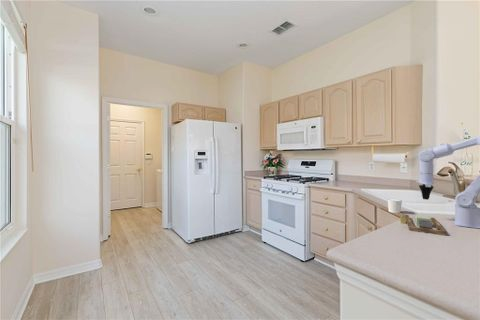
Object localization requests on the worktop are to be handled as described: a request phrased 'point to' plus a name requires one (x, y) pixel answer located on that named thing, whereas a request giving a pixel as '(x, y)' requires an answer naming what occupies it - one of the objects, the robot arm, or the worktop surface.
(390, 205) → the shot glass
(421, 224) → the block
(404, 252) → the worktop surface
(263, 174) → the worktop surface
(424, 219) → the block
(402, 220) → the tan textured block
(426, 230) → the twin wooden rails
